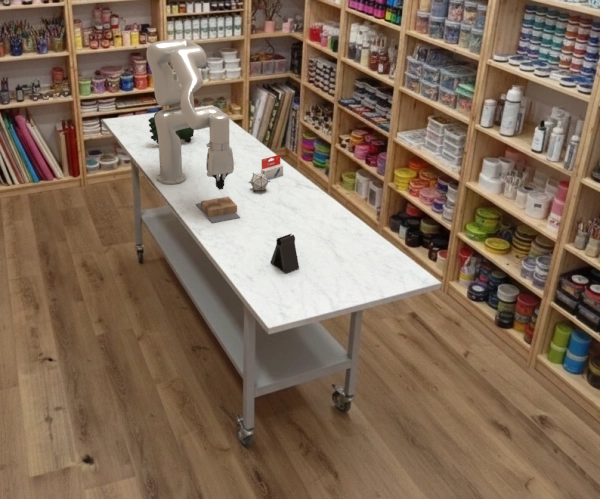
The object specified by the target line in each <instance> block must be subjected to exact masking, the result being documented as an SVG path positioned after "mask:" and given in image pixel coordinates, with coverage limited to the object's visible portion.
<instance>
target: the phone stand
mask: <svg viewBox="0 0 600 499" xmlns="http://www.w3.org/2000/svg"><path fill="white" fill-rule="evenodd" d="M275 240H276V242H275V243H276V244H275V247H274V251H273V254H272V257H271V259H270V264H271V265H272V266H274V267H275V268H276V269H278V270H280V271H281V272H282V273H284V274H288V273H291V272H294V271H296V270H298V269H300V265H299V261H298V260H299V259H298V254H297V248H296V244H295V243H296V237H295V235H294V234H292V233H289V234H286V235H283V236H280V237H278V238H276V239H275Z"/></svg>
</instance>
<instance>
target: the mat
mask: <svg viewBox="0 0 600 499" xmlns="http://www.w3.org/2000/svg"><path fill="white" fill-rule="evenodd" d="M195 206H196V207H197V208H198V209H199V210H200V212H202V213H203V215H204V216H205V217H206V218H207V219H208V220H209V222H210V223H211V224H215V223H221V222H225V221H226V222H227V221H232V220H237V219H240V218H241V216H240V215H239V214H238V212H235V213H230V214H224V215H219V216H214V217H209V216H208V215H207V214H206V213H205V212H204V211H203V209H202V208H201V202H197V203H195Z"/></svg>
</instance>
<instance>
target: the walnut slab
mask: <svg viewBox="0 0 600 499" xmlns="http://www.w3.org/2000/svg"><path fill="white" fill-rule="evenodd" d="M200 203H201V208H202V209H203V211H204V212H205V213H206V214H207V215H208V216H209V217H214V216H219V215H224V214H230V213H235V212H236V213H238V205H237V204H236V203H235V202H234V200H232V198H230V196H224V197H219V198H212V199H206V200H201V201H200Z"/></svg>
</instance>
